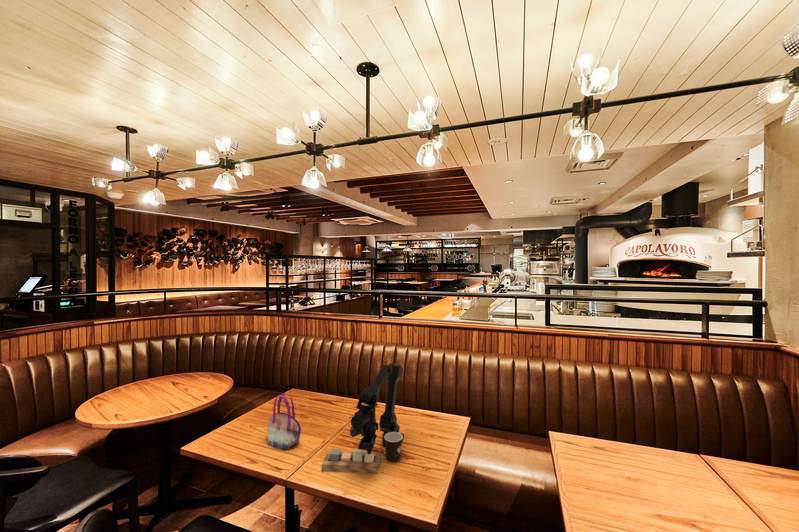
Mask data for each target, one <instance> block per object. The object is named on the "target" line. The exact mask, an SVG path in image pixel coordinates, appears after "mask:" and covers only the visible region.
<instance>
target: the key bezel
mask: <svg viewBox="0 0 799 532" xmlns="http://www.w3.org/2000/svg"><path fill="white" fill-rule="evenodd" d="M330 452H331V450H328V451H327V453H326V455H325V457H324V459H323V461H322V463H321V472H332V473H333V472H335V473H355V472H356V473H361V474H379V472H380V466H381V461H382V452H371V454H374V463H365V462H364V458H365V454H368V453H367V451H366V452H364V451H363V461H362V462H341V458H340V461H330ZM353 452H354V451H341V457H342V455H343V453H352V461H353Z"/></svg>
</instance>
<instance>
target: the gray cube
mask: <svg viewBox="0 0 799 532" xmlns="http://www.w3.org/2000/svg"><path fill="white" fill-rule="evenodd" d="M330 451H331V452H330V461H339V462H341V461H340V458H341V452H342V451H341V448H332V449H331V450H330Z"/></svg>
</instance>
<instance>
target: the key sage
mask: <svg viewBox="0 0 799 532" xmlns="http://www.w3.org/2000/svg"><path fill="white" fill-rule="evenodd" d="M352 452H353V462H362V461H363V452H364V450H360V449H353V451H352Z"/></svg>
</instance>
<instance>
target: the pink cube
mask: <svg viewBox="0 0 799 532" xmlns="http://www.w3.org/2000/svg"><path fill="white" fill-rule="evenodd" d="M340 462H352V453H343V455H342V457H341V461H340Z"/></svg>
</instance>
